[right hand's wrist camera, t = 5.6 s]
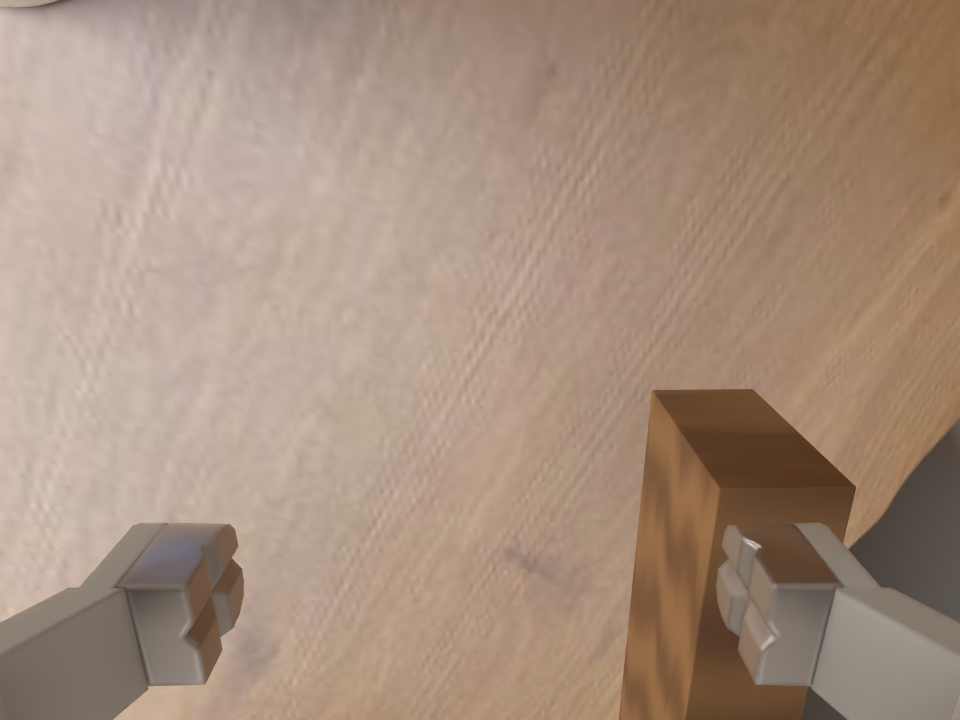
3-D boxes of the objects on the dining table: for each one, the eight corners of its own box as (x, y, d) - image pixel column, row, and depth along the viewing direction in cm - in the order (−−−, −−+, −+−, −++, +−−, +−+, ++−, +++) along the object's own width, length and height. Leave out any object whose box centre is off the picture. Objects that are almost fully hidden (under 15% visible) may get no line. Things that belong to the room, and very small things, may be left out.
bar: (651, 389, 33) (719, 488, 24) (752, 388, 33) (857, 486, 24) (618, 719, 41) (659, 883, 32) (699, 717, 41) (762, 881, 32)
